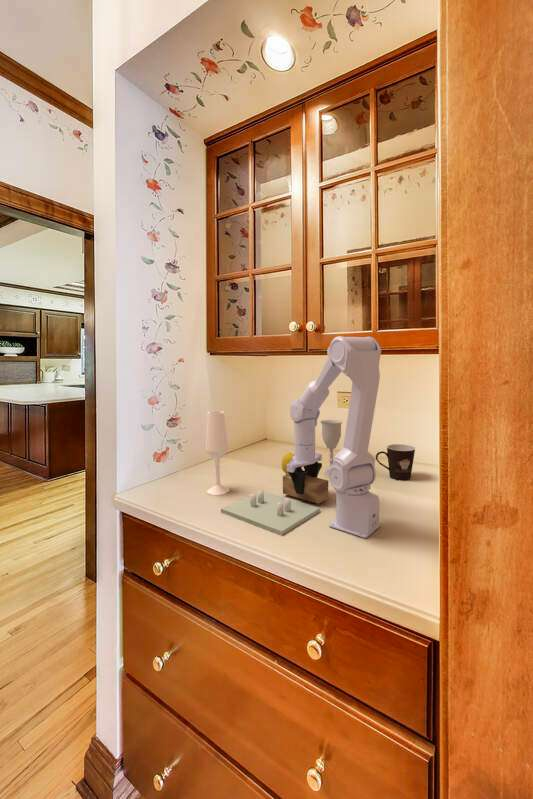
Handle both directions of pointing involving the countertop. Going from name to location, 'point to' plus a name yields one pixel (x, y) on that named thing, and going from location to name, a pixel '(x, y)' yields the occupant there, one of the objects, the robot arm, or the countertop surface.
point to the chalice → (331, 437)
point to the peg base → (271, 511)
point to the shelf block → (307, 489)
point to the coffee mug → (399, 461)
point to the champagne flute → (216, 445)
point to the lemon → (286, 461)
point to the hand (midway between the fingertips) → (305, 490)
